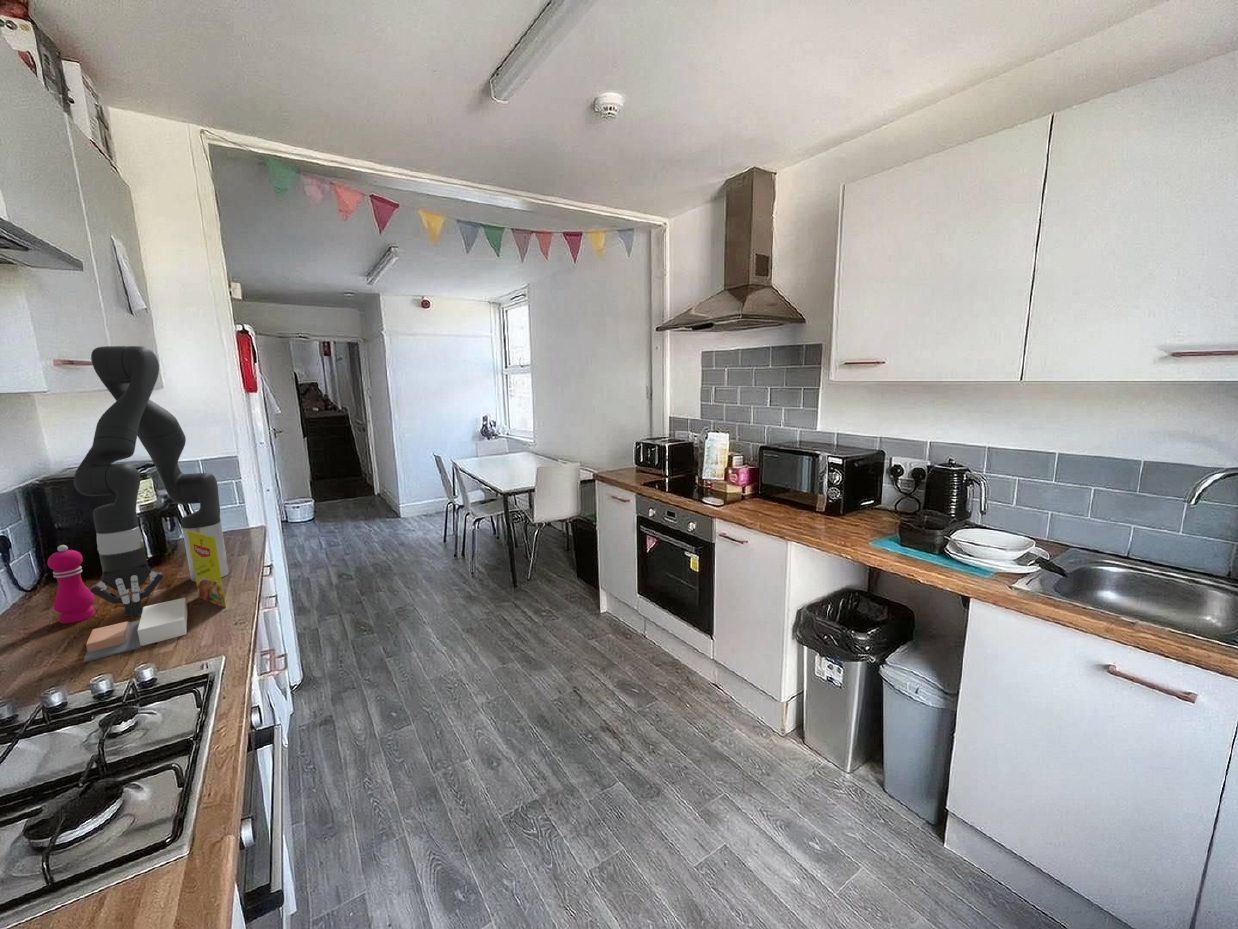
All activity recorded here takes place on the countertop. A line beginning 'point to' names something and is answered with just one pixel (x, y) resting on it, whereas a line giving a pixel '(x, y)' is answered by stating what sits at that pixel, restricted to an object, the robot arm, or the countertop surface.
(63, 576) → the pepper mill
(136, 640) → the rubber mat
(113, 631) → the terracotta tile
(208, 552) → the food package
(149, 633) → the white box
